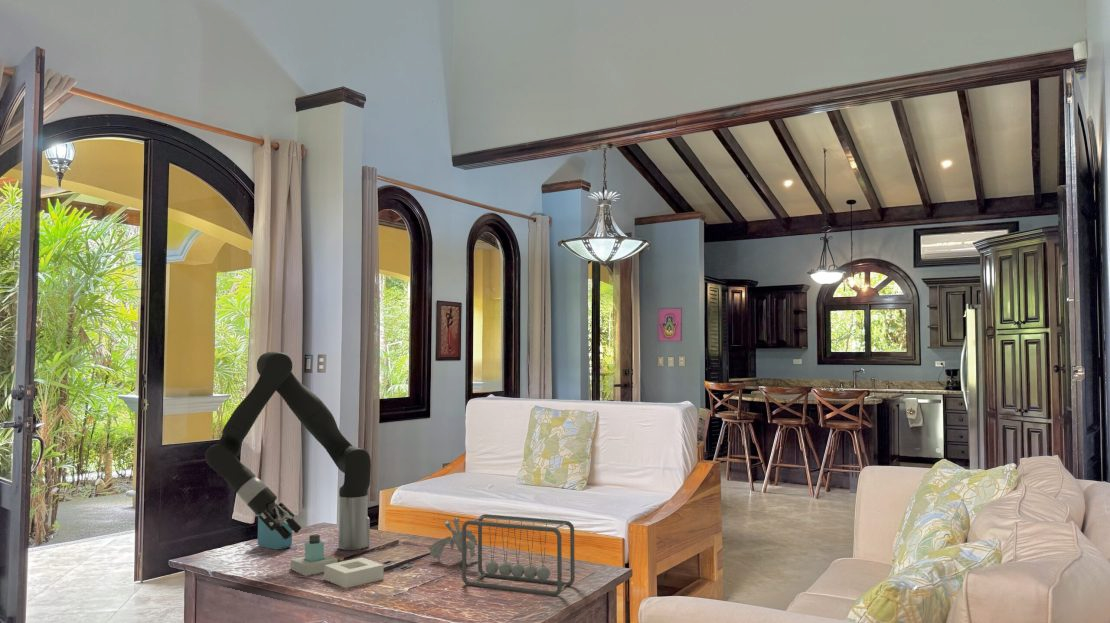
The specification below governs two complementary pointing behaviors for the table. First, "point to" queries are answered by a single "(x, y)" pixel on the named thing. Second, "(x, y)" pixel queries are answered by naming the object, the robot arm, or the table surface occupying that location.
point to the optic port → (353, 572)
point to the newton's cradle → (517, 568)
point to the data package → (272, 536)
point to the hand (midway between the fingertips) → (294, 533)
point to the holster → (311, 565)
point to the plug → (314, 549)
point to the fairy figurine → (454, 541)
